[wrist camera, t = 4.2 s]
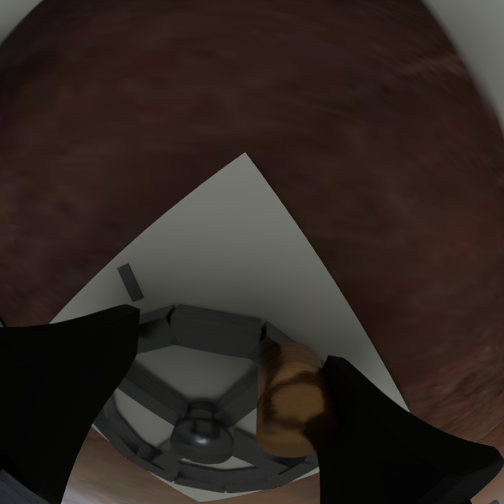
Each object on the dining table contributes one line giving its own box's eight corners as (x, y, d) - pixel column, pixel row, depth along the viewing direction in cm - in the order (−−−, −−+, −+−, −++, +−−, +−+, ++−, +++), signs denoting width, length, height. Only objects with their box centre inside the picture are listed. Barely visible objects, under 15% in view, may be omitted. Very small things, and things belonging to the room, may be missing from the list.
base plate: (202, 489, 17) (199, 502, 15) (37, 341, 14) (24, 352, 12) (407, 408, 14) (415, 423, 12) (247, 156, 11) (245, 152, 10)
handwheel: (233, 494, 14) (228, 543, 10) (70, 401, 13) (35, 446, 8) (393, 394, 12) (427, 457, 7) (174, 229, 10) (112, 261, 6)
